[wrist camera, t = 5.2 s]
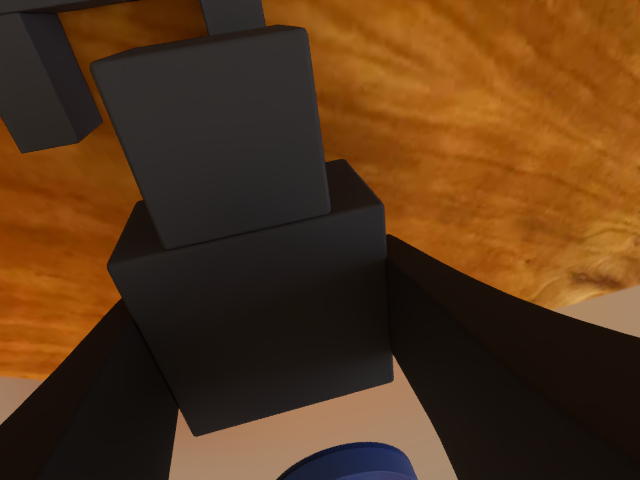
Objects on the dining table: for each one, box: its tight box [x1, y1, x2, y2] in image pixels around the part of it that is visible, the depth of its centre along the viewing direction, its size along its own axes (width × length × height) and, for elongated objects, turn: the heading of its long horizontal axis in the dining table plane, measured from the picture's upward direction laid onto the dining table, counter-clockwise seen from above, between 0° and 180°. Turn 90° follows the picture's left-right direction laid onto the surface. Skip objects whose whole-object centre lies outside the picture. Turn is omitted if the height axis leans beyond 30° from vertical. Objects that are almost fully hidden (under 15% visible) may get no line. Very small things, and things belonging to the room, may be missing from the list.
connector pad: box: [90, 25, 394, 437], centre depth 8 cm, size 8×5×3 cm, turn 8°
